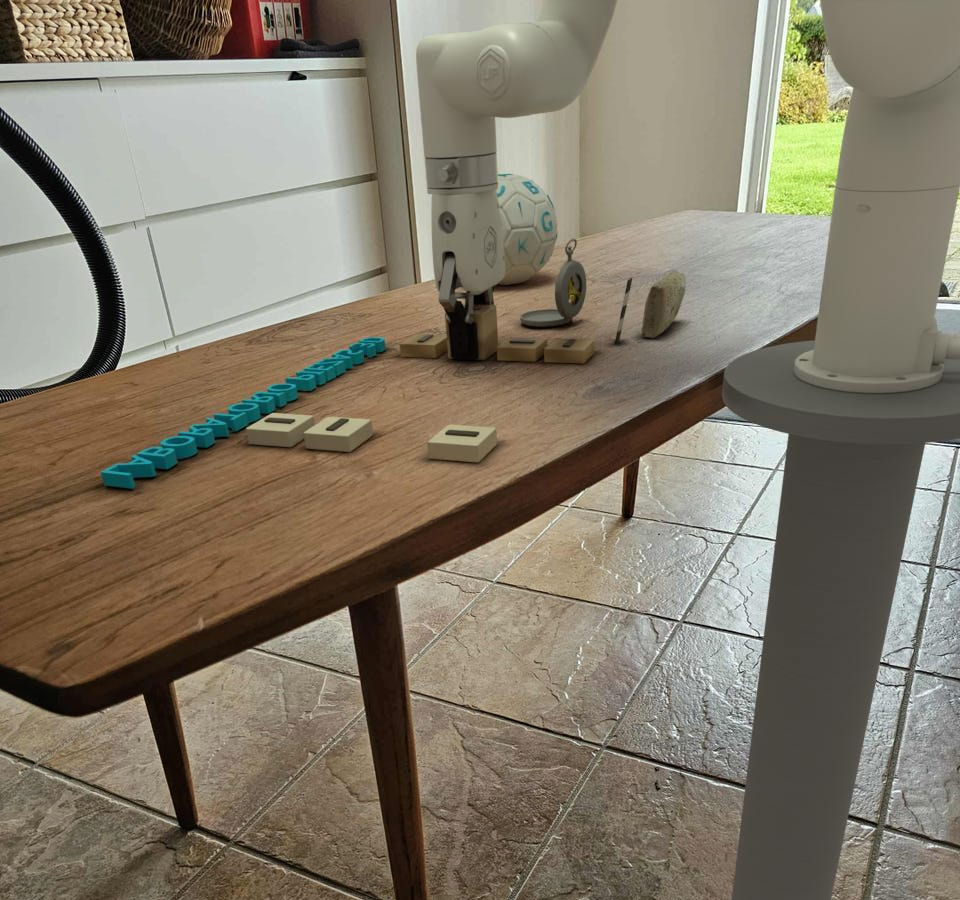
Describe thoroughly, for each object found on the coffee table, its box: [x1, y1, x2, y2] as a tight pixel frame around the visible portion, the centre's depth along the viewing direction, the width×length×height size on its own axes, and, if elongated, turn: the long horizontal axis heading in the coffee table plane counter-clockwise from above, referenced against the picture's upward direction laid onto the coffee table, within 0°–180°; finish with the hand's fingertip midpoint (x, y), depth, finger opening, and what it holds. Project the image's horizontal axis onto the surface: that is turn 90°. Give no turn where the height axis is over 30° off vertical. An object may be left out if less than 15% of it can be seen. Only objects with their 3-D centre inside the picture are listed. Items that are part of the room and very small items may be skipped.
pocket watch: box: [519, 238, 587, 328], centre depth 111 cm, size 8×8×10 cm
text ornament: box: [100, 336, 387, 489], centre depth 91 cm, size 45×3×1 cm, turn 157°
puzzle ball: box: [496, 173, 559, 286], centre depth 134 cm, size 15×15×15 cm
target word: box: [245, 412, 498, 463], centre depth 79 cm, size 22×4×2 cm, turn 69°
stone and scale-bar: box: [614, 269, 687, 345], centre depth 105 cm, size 7×4×12 cm
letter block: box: [444, 304, 499, 361], centre depth 102 cm, size 4×4×5 cm
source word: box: [399, 333, 596, 365], centre depth 102 cm, size 22×4×2 cm, turn 69°
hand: (473, 350), depth 103 cm, fingers closed on letter block, 4 cm apart
